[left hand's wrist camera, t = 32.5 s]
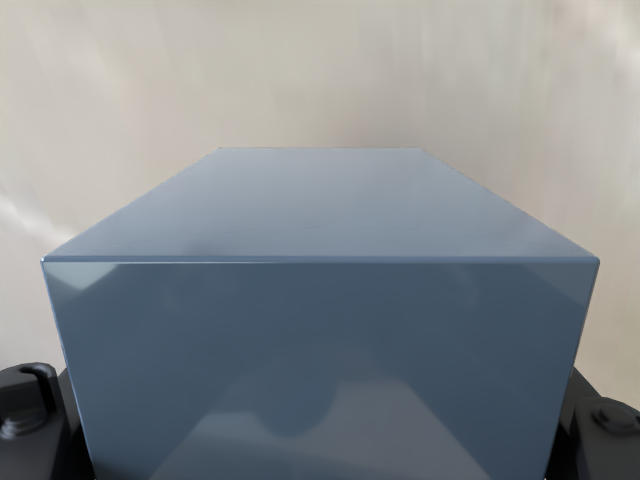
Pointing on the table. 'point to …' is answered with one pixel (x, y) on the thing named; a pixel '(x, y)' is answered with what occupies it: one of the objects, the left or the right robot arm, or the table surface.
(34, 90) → the table surface
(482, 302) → the block
